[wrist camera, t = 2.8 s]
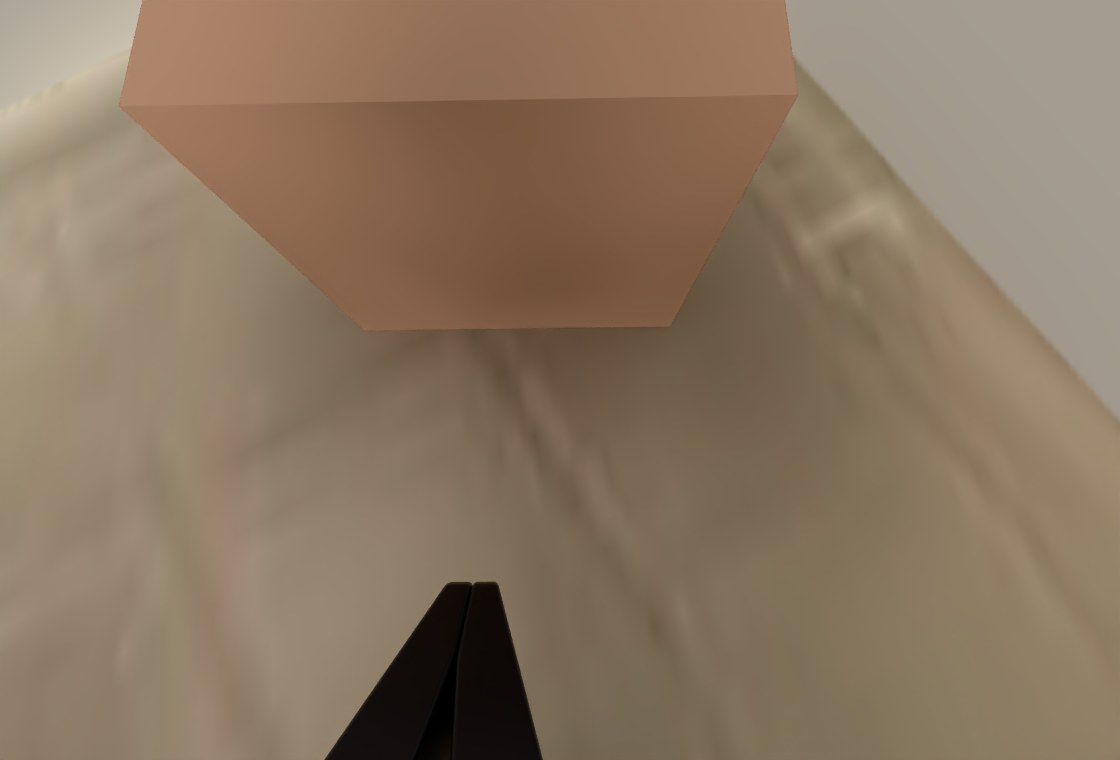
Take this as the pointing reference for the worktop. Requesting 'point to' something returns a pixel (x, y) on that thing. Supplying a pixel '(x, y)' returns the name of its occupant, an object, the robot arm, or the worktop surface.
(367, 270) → the tile
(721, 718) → the worktop surface
